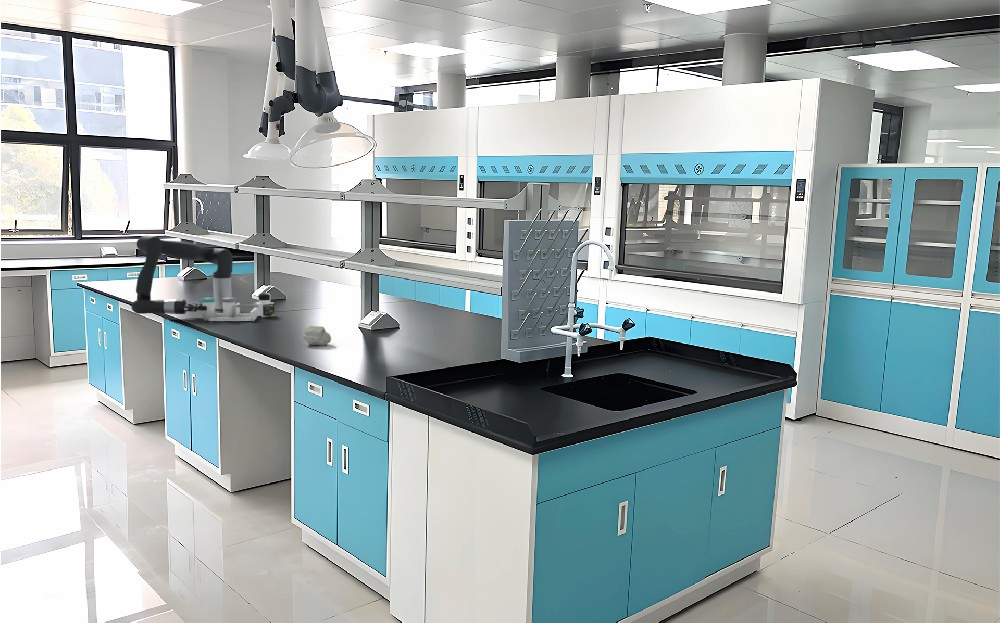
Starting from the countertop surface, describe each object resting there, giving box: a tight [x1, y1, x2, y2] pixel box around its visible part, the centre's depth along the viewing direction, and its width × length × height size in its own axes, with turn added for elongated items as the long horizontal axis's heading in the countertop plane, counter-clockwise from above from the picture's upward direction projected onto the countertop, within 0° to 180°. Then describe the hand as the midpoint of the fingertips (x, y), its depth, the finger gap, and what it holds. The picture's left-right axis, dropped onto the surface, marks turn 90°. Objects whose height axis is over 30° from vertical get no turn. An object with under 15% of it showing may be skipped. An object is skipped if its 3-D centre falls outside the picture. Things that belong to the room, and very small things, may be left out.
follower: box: [234, 302, 258, 317], centre depth 391 cm, size 10×11×8 cm
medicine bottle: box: [254, 292, 275, 318], centre depth 403 cm, size 7×7×12 cm
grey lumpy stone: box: [302, 325, 332, 347], centre depth 336 cm, size 12×8×10 cm
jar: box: [201, 296, 216, 321], centre depth 388 cm, size 6×6×11 cm
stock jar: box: [222, 296, 236, 317], centre depth 390 cm, size 6×6×11 cm
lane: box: [208, 307, 258, 322], centre depth 391 cm, size 16×21×5 cm
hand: (208, 306), depth 388 cm, fingers open, 8 cm apart
